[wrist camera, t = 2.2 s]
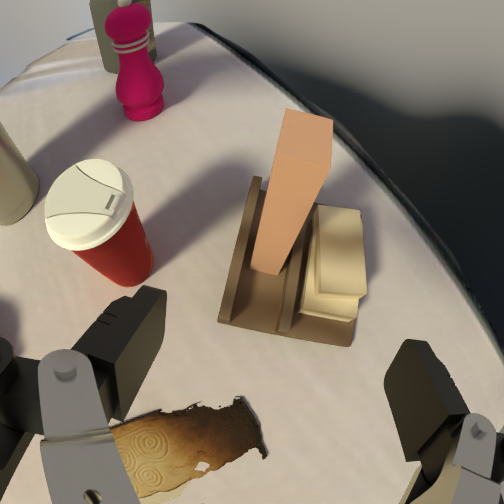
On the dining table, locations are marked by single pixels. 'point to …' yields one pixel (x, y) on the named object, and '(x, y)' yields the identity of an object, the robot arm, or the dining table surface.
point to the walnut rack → (274, 286)
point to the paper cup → (99, 221)
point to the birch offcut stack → (334, 265)
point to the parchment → (183, 446)
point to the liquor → (101, 6)
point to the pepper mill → (135, 61)
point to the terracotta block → (292, 186)
